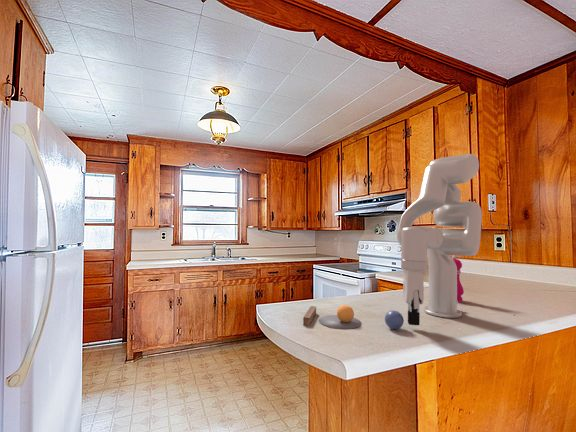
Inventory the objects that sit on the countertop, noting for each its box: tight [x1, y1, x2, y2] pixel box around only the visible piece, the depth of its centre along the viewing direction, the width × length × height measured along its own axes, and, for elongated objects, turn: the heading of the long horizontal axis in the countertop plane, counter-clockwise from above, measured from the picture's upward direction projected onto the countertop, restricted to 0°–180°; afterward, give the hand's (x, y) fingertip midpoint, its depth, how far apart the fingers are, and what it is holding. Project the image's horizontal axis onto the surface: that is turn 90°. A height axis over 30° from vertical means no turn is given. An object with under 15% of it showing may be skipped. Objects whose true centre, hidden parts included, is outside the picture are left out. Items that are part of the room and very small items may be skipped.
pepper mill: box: [451, 255, 465, 303], centre depth 132 cm, size 7×7×20 cm
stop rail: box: [302, 305, 317, 327], centre depth 102 cm, size 2×14×2 cm, turn 166°
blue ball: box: [384, 310, 404, 330], centre depth 94 cm, size 6×6×6 cm
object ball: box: [336, 304, 355, 323], centre depth 99 cm, size 6×6×6 cm
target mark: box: [318, 314, 362, 330], centre depth 99 cm, size 14×14×1 cm
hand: (413, 324), depth 94 cm, fingers closed
